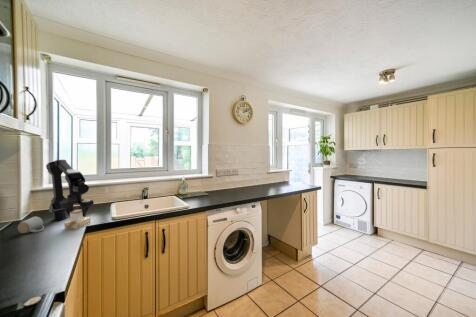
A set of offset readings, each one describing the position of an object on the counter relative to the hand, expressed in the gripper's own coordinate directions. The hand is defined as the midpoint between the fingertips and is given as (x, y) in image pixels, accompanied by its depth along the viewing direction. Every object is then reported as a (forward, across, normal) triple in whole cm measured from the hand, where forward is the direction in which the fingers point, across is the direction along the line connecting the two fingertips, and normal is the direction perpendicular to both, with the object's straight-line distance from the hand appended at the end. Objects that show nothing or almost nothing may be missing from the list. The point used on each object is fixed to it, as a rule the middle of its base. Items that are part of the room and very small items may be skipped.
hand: (77, 216), depth 122 cm
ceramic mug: (+6, -21, -8) cm, 23 cm away
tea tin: (+2, 0, 0) cm, 2 cm away
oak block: (+6, 0, 0) cm, 6 cm away
